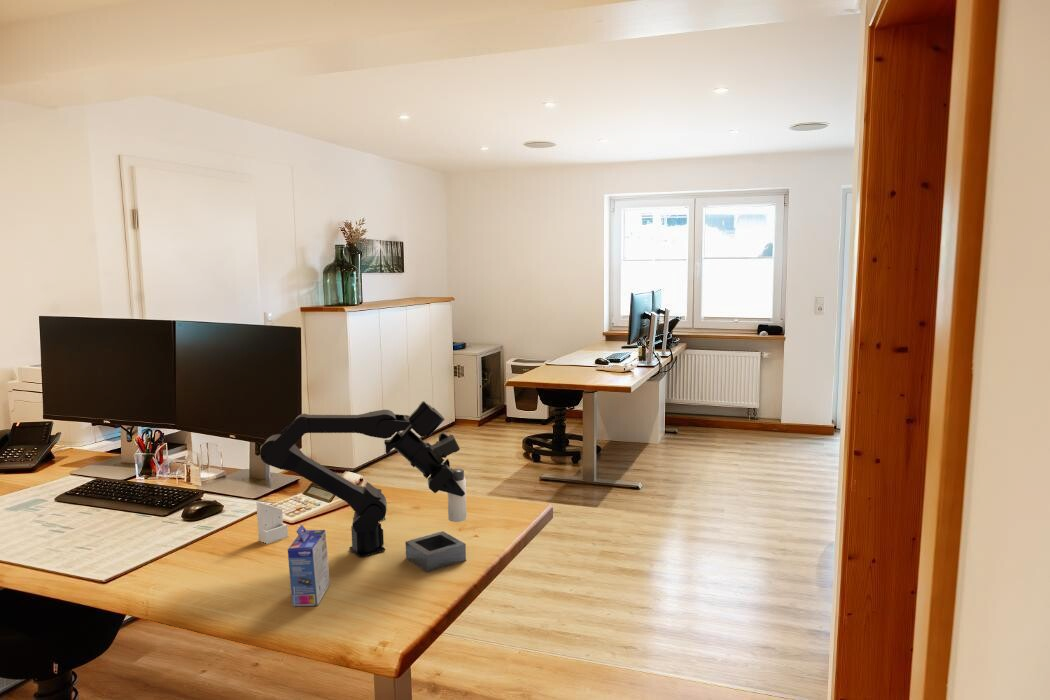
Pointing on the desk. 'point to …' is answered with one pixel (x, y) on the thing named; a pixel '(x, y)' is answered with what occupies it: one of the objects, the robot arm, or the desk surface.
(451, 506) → the white bottle
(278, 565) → the desk surface
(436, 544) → the collar
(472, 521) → the desk surface
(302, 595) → the ink cartridge box
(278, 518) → the white wall holder
